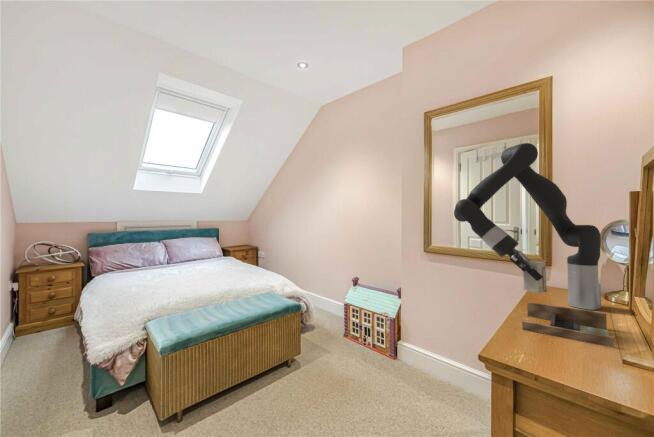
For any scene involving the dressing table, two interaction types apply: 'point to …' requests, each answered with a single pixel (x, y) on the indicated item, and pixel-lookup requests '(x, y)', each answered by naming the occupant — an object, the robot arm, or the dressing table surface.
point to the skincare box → (530, 282)
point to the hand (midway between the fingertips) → (540, 277)
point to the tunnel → (570, 323)
